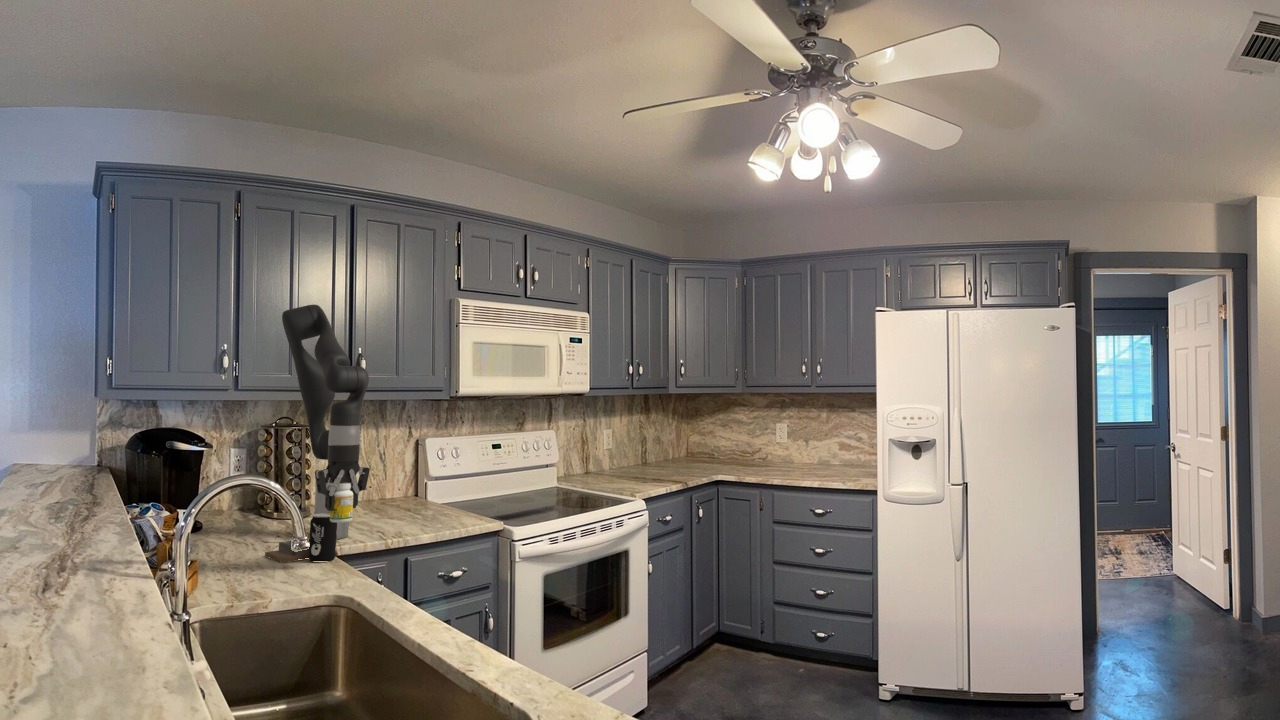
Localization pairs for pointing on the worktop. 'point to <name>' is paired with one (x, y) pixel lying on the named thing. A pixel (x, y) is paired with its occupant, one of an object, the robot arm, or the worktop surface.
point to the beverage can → (322, 538)
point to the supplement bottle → (342, 504)
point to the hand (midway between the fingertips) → (341, 508)
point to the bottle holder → (287, 553)
